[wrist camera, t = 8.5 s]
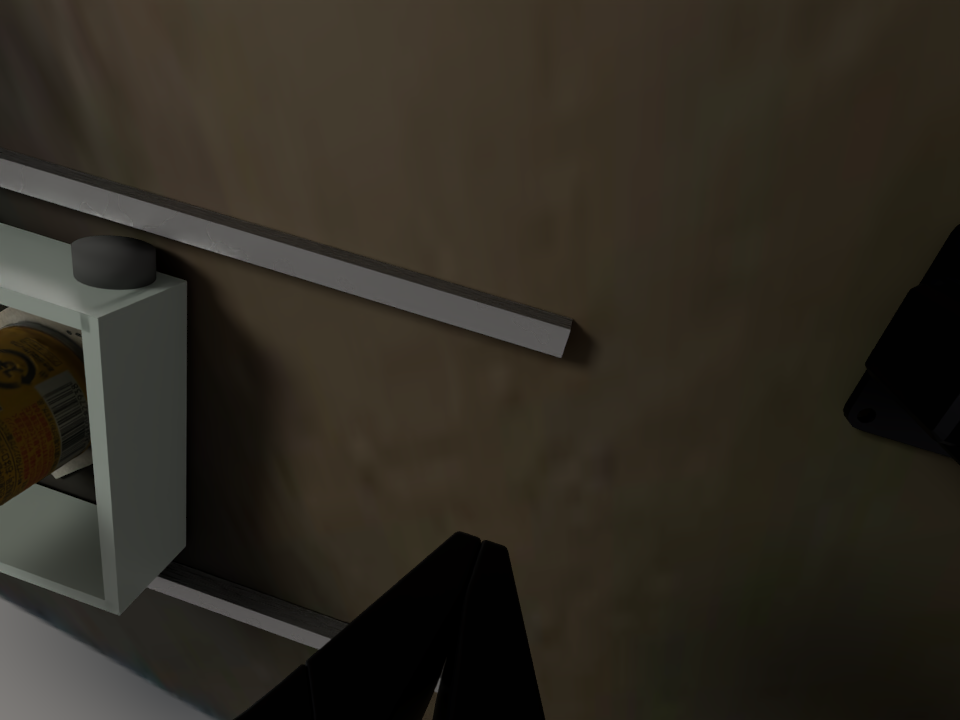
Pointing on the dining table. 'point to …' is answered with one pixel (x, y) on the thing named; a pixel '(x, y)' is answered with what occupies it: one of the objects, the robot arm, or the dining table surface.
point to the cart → (106, 418)
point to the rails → (300, 262)
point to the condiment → (40, 402)
